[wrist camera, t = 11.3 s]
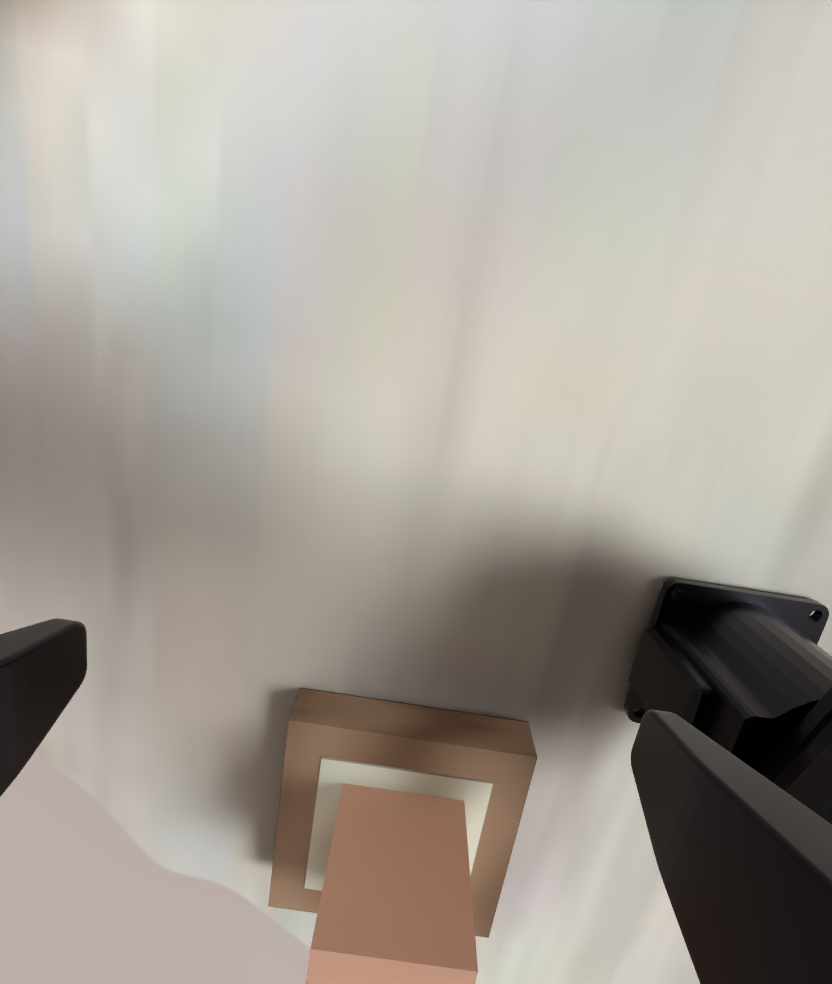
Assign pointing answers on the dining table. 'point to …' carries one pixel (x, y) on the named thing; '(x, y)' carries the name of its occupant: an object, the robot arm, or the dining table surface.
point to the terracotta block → (395, 893)
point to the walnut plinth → (397, 784)
